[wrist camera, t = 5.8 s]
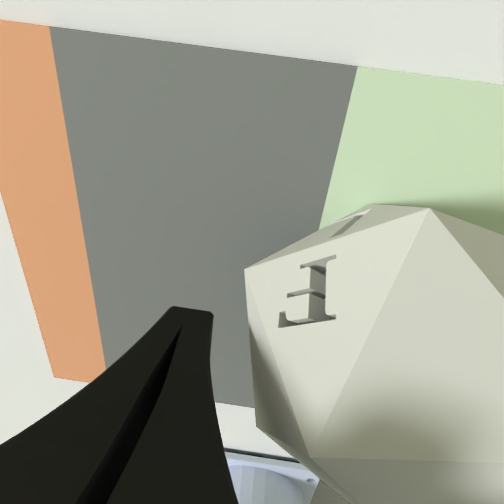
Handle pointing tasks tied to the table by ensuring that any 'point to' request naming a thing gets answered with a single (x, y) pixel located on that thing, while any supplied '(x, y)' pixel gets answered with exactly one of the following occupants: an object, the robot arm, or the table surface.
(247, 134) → the mat
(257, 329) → the die
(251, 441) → the table surface
